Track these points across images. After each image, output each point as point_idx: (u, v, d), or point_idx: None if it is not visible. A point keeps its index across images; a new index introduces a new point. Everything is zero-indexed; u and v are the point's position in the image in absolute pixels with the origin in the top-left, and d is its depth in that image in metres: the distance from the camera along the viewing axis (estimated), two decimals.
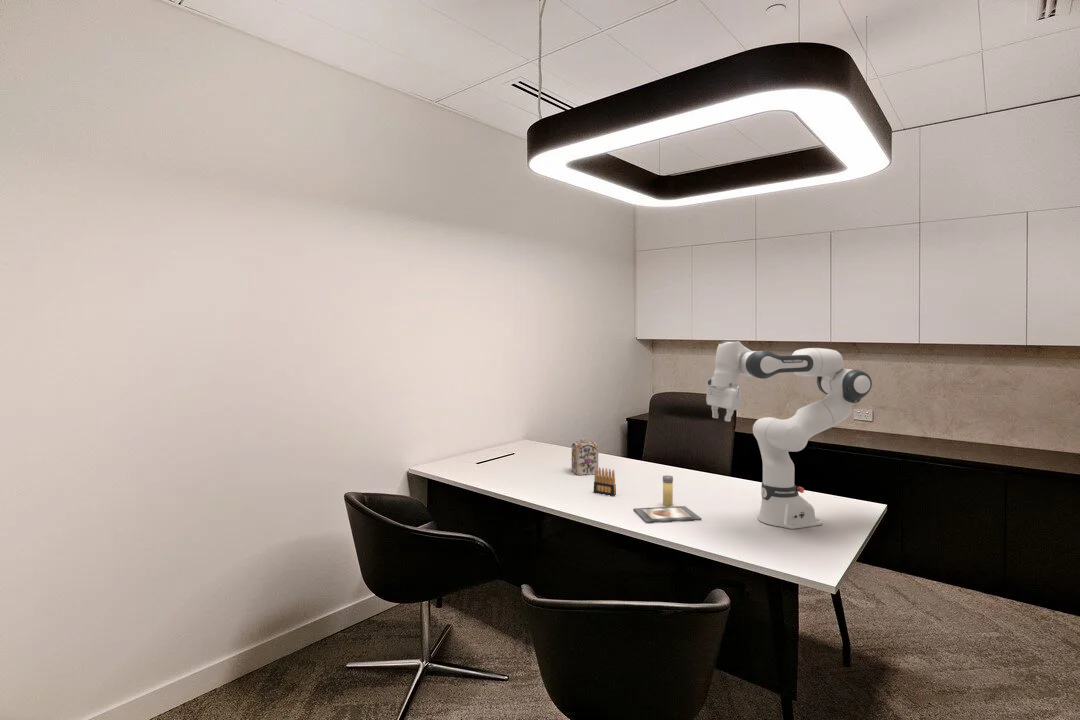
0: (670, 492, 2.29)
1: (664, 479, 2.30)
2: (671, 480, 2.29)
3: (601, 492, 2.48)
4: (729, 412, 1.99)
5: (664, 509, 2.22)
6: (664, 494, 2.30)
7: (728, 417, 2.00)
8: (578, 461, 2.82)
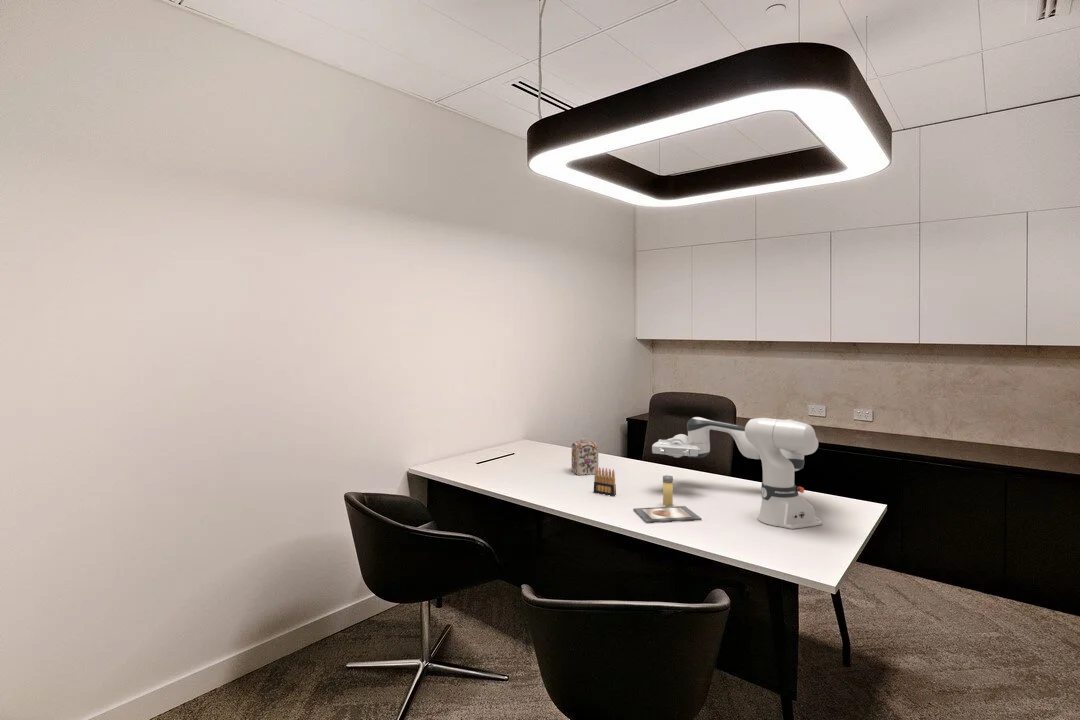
0: (670, 492, 2.29)
1: (664, 479, 2.30)
2: (671, 480, 2.29)
3: (601, 492, 2.48)
4: (688, 451, 2.41)
5: (664, 509, 2.22)
6: (664, 494, 2.30)
7: (686, 453, 2.40)
8: (578, 461, 2.82)
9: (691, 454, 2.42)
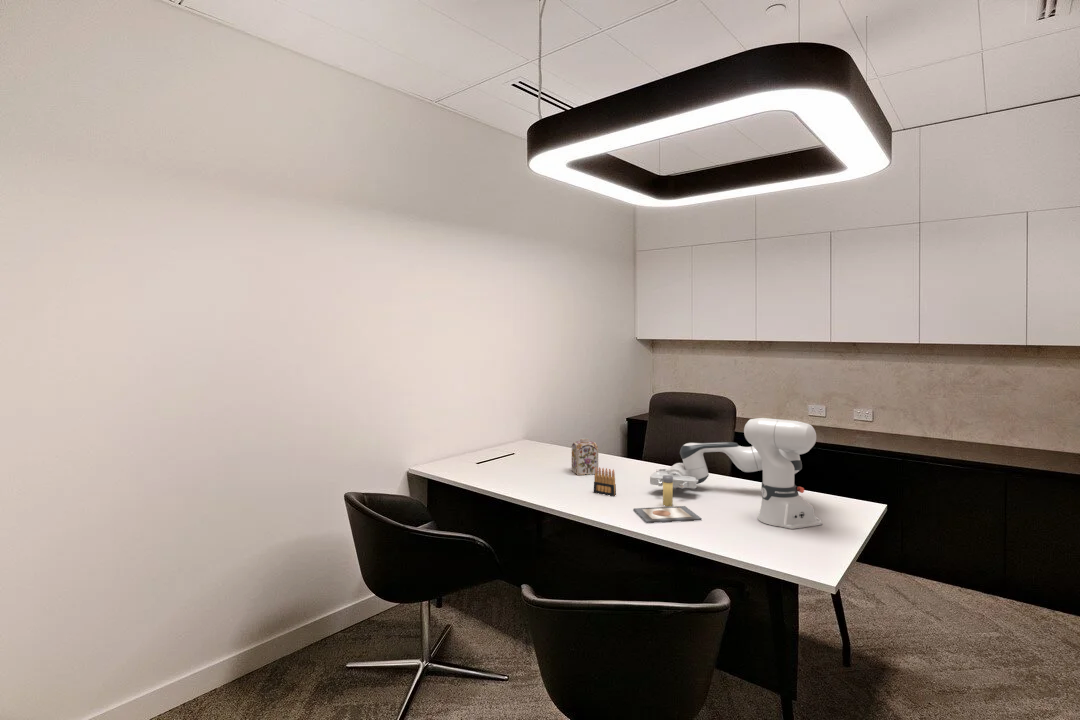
0: (670, 492, 2.29)
1: (664, 479, 2.30)
2: (671, 480, 2.29)
3: (601, 492, 2.48)
4: (687, 483, 2.39)
5: (664, 509, 2.22)
6: (664, 494, 2.30)
7: (684, 485, 2.38)
8: (578, 461, 2.82)
9: (689, 486, 2.40)
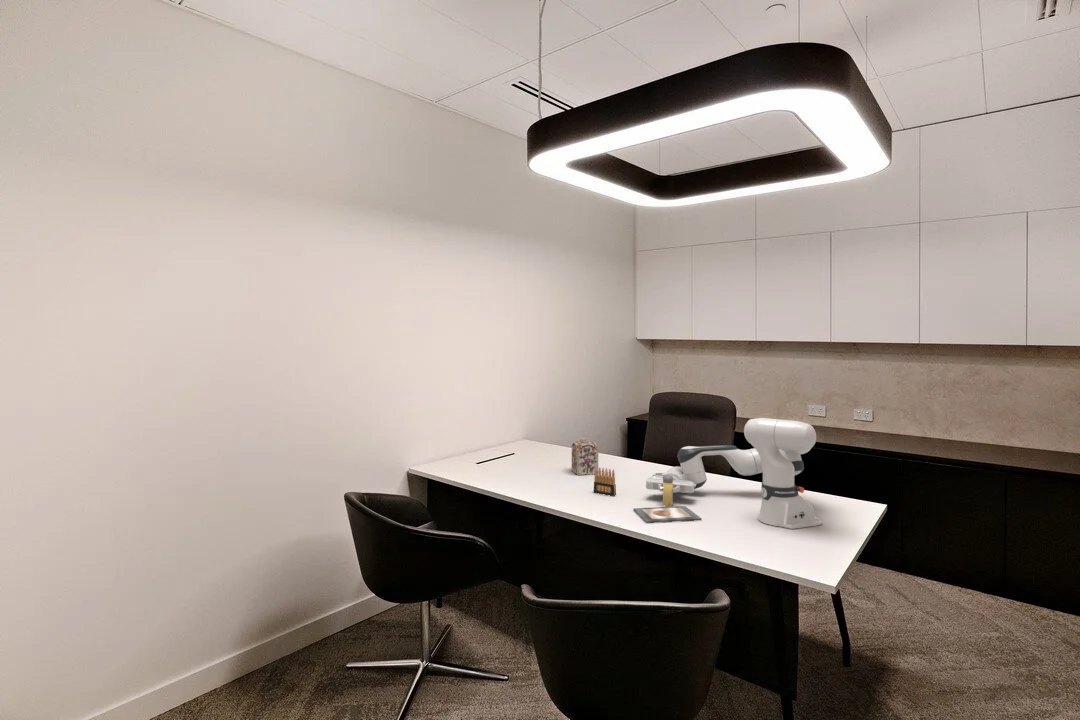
0: (670, 492, 2.29)
1: (664, 479, 2.30)
2: (671, 480, 2.29)
3: (601, 492, 2.48)
4: (679, 487, 2.32)
5: (664, 509, 2.22)
6: (664, 494, 2.30)
7: (676, 489, 2.30)
8: (578, 461, 2.82)
9: (687, 491, 2.32)
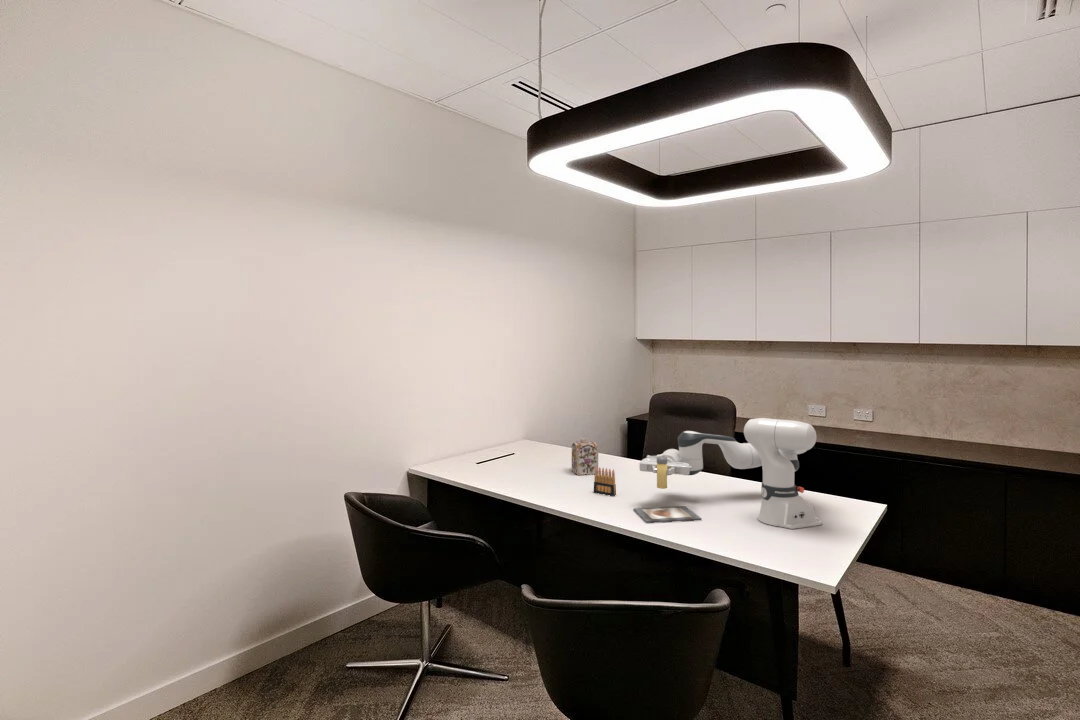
0: (664, 474, 2.19)
1: (658, 460, 2.19)
2: (665, 461, 2.19)
3: (601, 492, 2.48)
4: (674, 469, 2.21)
5: (664, 509, 2.22)
6: (658, 476, 2.19)
7: (670, 471, 2.20)
8: (578, 461, 2.82)
9: (682, 472, 2.21)
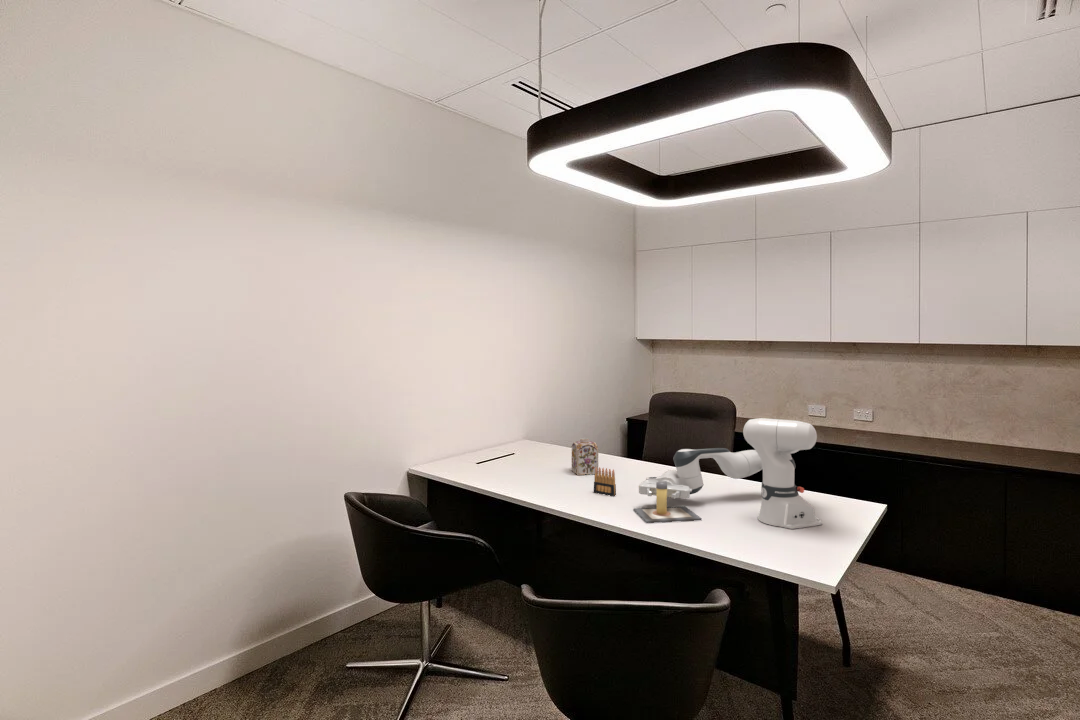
0: (664, 499, 2.15)
1: (658, 485, 2.16)
2: (665, 486, 2.15)
3: (601, 492, 2.48)
4: (679, 493, 2.17)
5: None
6: (658, 501, 2.16)
7: (676, 495, 2.16)
8: (578, 461, 2.82)
9: (682, 496, 2.18)
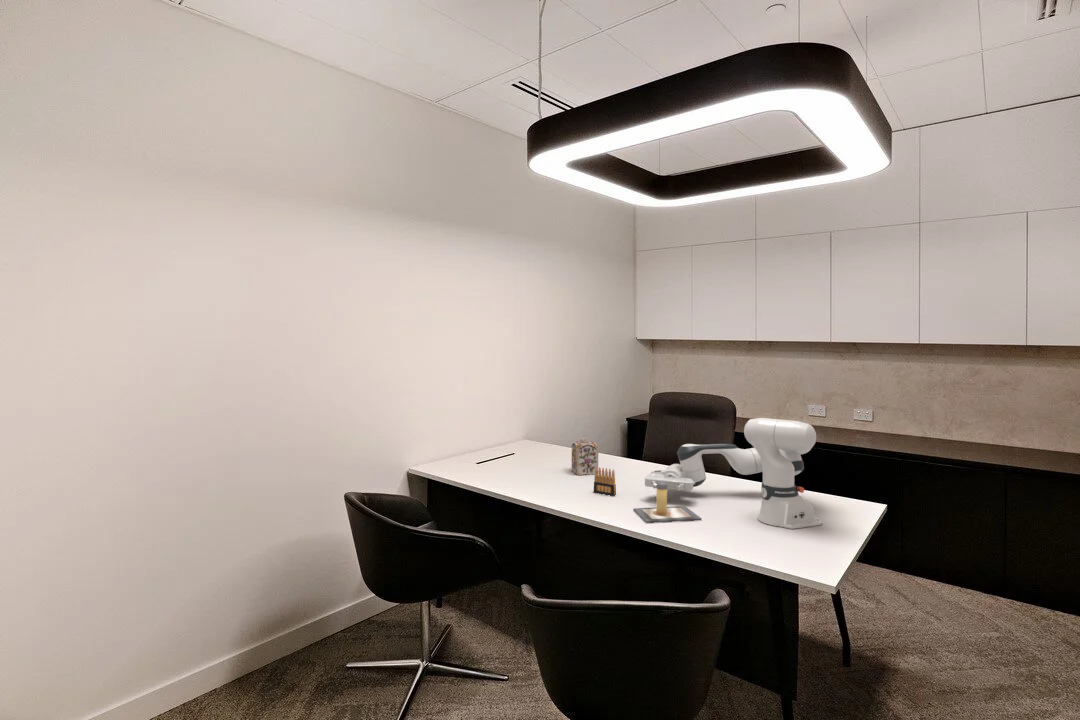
0: (664, 499, 2.15)
1: (658, 485, 2.16)
2: (665, 486, 2.15)
3: (601, 492, 2.48)
4: (683, 485, 2.29)
5: None
6: (658, 501, 2.16)
7: (680, 487, 2.27)
8: (578, 461, 2.82)
9: (686, 488, 2.30)
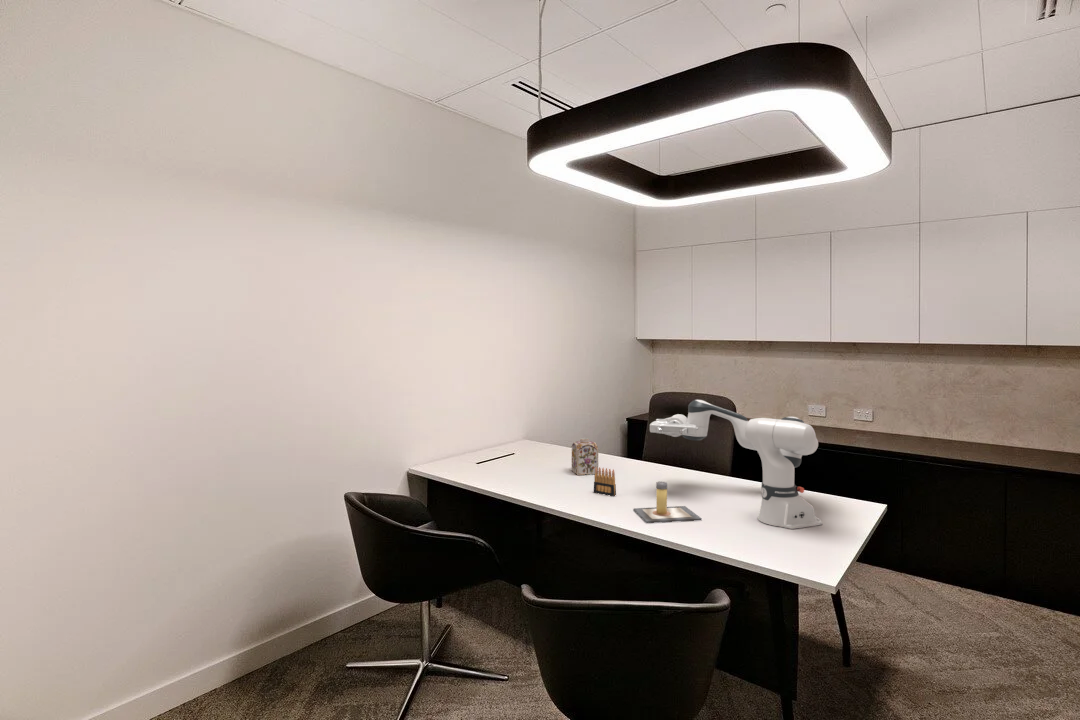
0: (664, 499, 2.15)
1: (658, 485, 2.16)
2: (665, 487, 2.15)
3: (601, 492, 2.48)
4: (686, 429, 2.38)
5: None
6: (658, 501, 2.16)
7: (684, 431, 2.36)
8: (578, 461, 2.82)
9: (689, 432, 2.38)
